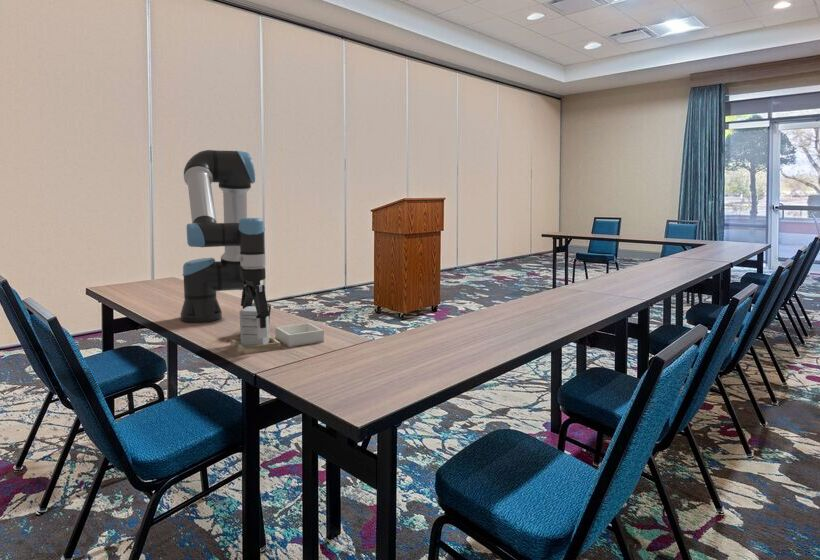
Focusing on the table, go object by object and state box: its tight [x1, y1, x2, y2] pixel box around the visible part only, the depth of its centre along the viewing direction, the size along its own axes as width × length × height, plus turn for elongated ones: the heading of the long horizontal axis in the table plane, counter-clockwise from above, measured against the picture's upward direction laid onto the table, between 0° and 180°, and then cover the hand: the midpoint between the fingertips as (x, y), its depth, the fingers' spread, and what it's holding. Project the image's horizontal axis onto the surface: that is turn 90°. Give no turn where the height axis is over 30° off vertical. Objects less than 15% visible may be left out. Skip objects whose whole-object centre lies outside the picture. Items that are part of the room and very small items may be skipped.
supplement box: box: [239, 306, 270, 347], centre depth 172 cm, size 7×7×13 cm
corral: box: [230, 334, 282, 355], centre depth 173 cm, size 12×12×2 cm
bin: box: [274, 322, 325, 348], centre depth 181 cm, size 12×12×4 cm
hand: (255, 333), depth 172 cm, fingers open, 13 cm apart
